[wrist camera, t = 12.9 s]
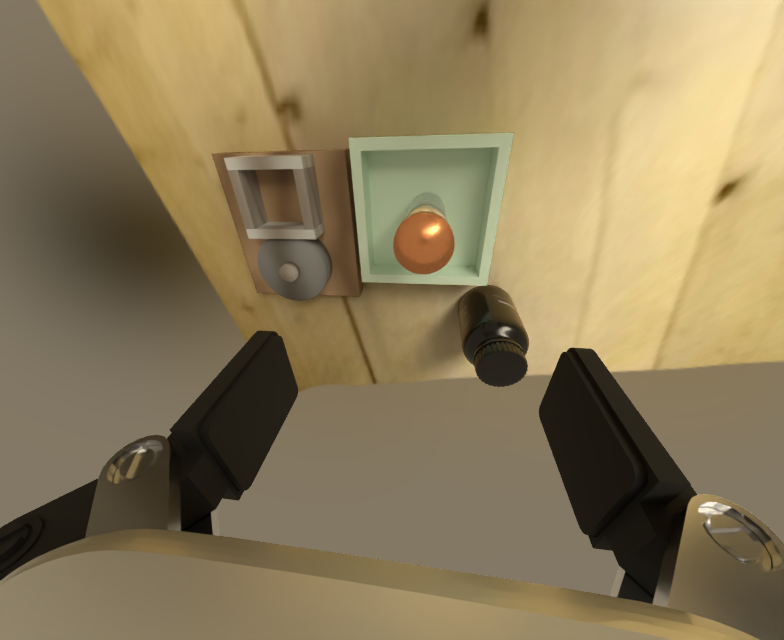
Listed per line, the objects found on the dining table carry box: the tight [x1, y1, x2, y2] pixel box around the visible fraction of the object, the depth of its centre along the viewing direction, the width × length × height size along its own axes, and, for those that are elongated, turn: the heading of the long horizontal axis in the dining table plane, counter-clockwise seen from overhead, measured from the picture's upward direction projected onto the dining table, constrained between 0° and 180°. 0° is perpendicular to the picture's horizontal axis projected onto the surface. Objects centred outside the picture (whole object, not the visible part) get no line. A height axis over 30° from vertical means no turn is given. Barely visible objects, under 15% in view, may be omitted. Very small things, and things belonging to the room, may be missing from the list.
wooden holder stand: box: [212, 149, 363, 301], centre depth 32 cm, size 14×16×6 cm
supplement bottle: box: [458, 285, 529, 387], centre depth 32 cm, size 7×7×12 cm
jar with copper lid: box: [393, 192, 455, 274], centre depth 26 cm, size 5×5×11 cm
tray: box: [348, 133, 514, 286], centre depth 29 cm, size 14×14×4 cm
